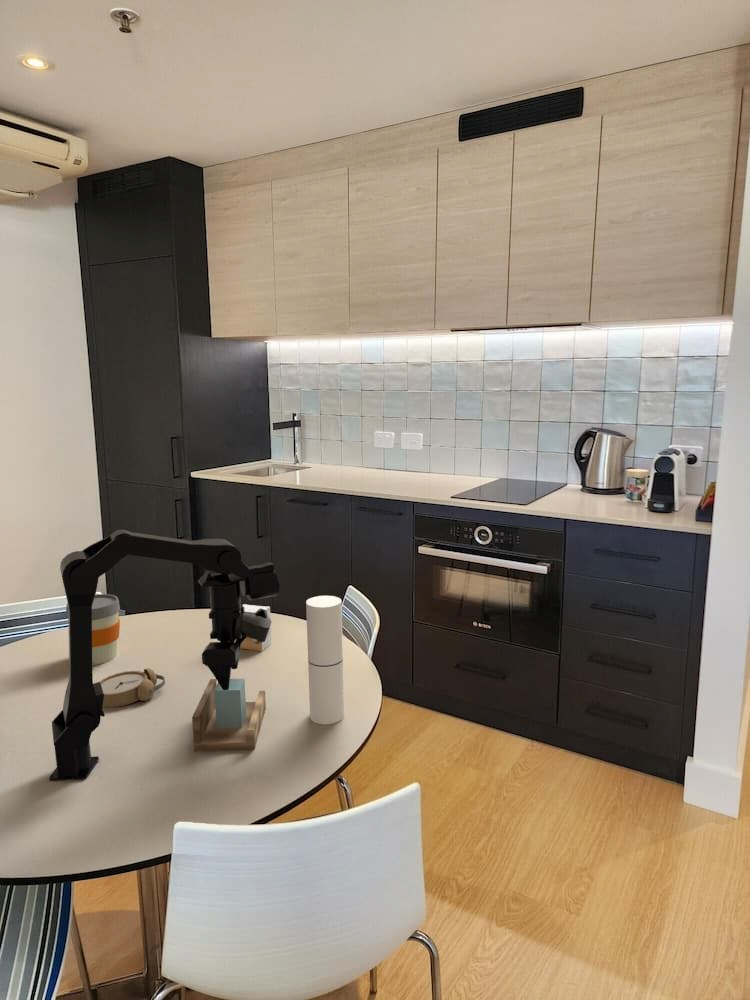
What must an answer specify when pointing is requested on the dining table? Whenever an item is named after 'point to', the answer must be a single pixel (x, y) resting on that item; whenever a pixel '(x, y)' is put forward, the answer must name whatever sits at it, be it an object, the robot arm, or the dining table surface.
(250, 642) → the small box
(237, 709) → the teal block
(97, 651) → the reusable coffee cup
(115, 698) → the alarm clock
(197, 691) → the dining table surface
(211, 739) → the cleat board
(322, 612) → the cylindrical container
